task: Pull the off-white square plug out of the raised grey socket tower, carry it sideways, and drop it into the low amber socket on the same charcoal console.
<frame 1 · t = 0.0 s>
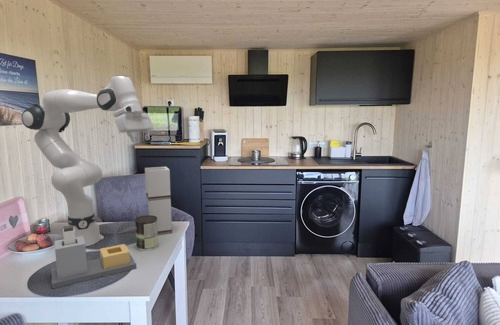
hand: (141, 140, 143), 52 cm above the table, fingers open, 8 cm apart
coffee can: (147, 246, 157), on the table
console: (94, 270, 133), on the table
striped beige pillar: (159, 231, 177), on the table
plug: (70, 252, 127), point 10 cm above the table, touching console
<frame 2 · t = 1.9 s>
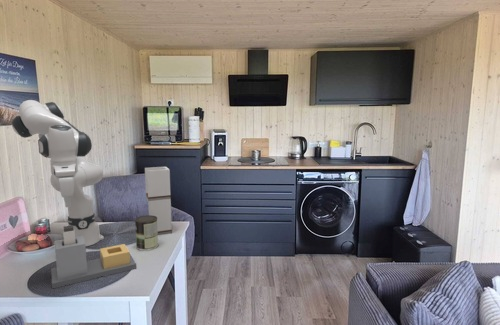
hand: (67, 203, 124), 29 cm above the table, fingers open, 8 cm apart
nothing on the table moved.
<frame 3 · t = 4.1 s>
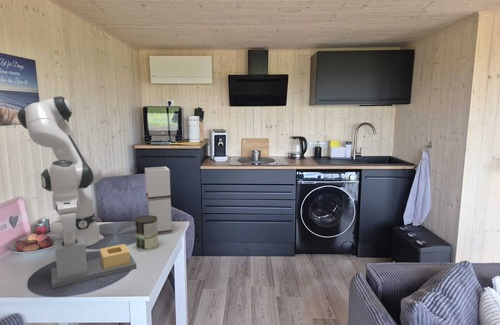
hand: (69, 237, 126), 16 cm above the table, fingers closed on plug, 4 cm apart
plug: (70, 252, 127), point 10 cm above the table, touching console, gripper
everything else where it was.
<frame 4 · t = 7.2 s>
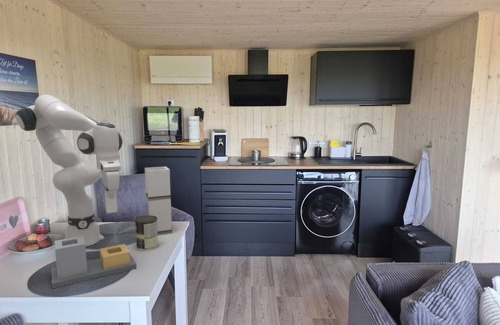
hand: (110, 197, 132), 30 cm above the table, fingers closed on plug, 4 cm apart
plug: (111, 211, 133), point 24 cm above the table, touching gripper
everything else where it was.
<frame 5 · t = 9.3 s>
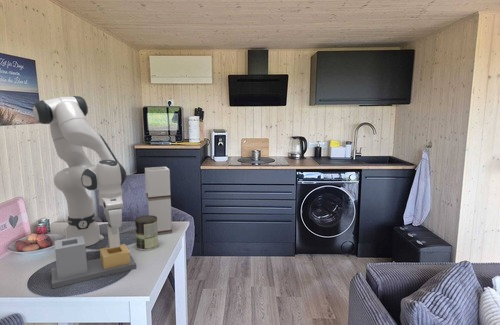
hand: (113, 231, 134), 15 cm above the table, fingers closed on plug, 4 cm apart
plug: (114, 245, 135), point 9 cm above the table, touching gripper
everything else where it was.
when the fingers open (10 cm above the table, at t = 10.7 s): plug drops 1 cm, resting on console.
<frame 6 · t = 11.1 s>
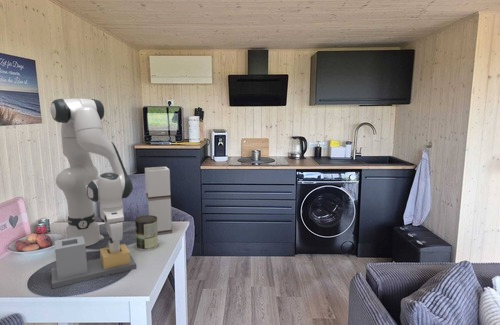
hand: (114, 244, 135), 10 cm above the table, fingers open, 8 cm apart
plug: (115, 261, 136), point 2 cm above the table, touching console
everything else where it was.
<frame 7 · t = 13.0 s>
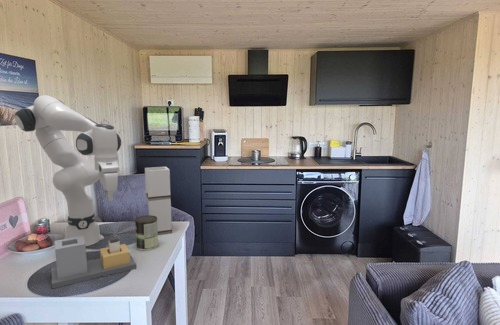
hand: (108, 198, 132), 30 cm above the table, fingers open, 8 cm apart
nothing on the table moved.
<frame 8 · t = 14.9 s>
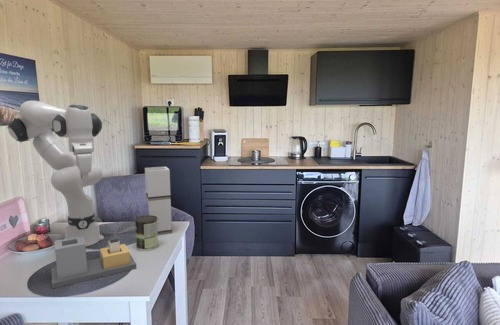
hand: (84, 180, 130), 37 cm above the table, fingers open, 8 cm apart
nothing on the table moved.
at the end: plug 0.1 cm from the target spot on the console, point 2.0 cm above the console's base; plug tilted 0°; the gripper is holding nothing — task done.
